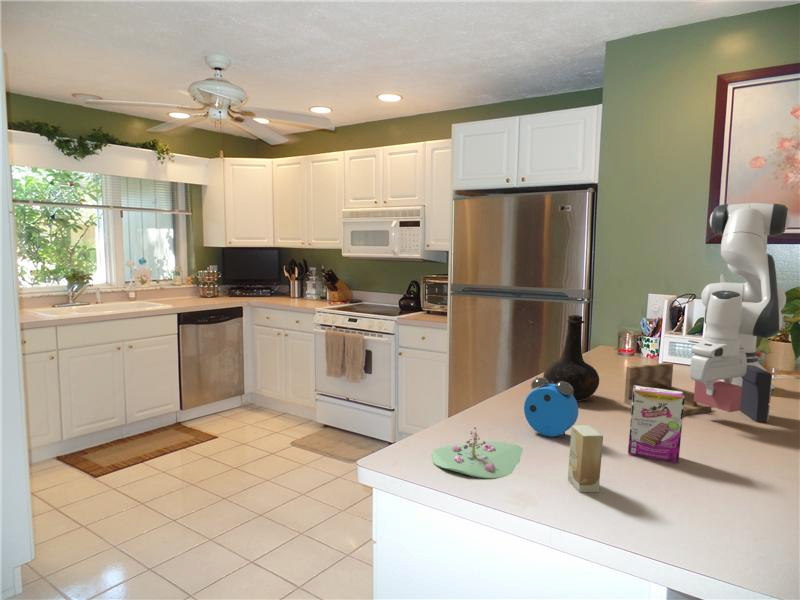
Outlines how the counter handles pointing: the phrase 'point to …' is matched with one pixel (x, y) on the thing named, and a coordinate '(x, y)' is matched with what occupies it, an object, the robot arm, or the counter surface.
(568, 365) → the glass bottle
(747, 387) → the stepped charcoal slab
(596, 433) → the skincare box
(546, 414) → the alarm clock
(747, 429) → the counter surface
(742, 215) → the robot arm
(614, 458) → the counter surface
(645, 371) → the wooden shelf rack
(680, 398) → the candy bar box
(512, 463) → the plant
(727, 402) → the boxed book
